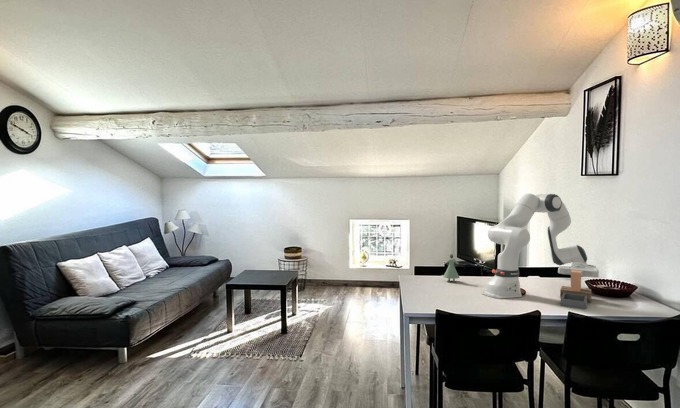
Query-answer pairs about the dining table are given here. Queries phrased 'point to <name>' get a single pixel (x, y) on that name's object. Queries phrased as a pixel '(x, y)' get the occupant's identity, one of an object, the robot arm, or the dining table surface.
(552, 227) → the robot arm
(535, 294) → the dining table surface
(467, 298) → the dining table surface
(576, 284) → the terracotta block
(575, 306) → the box
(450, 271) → the character figurine
